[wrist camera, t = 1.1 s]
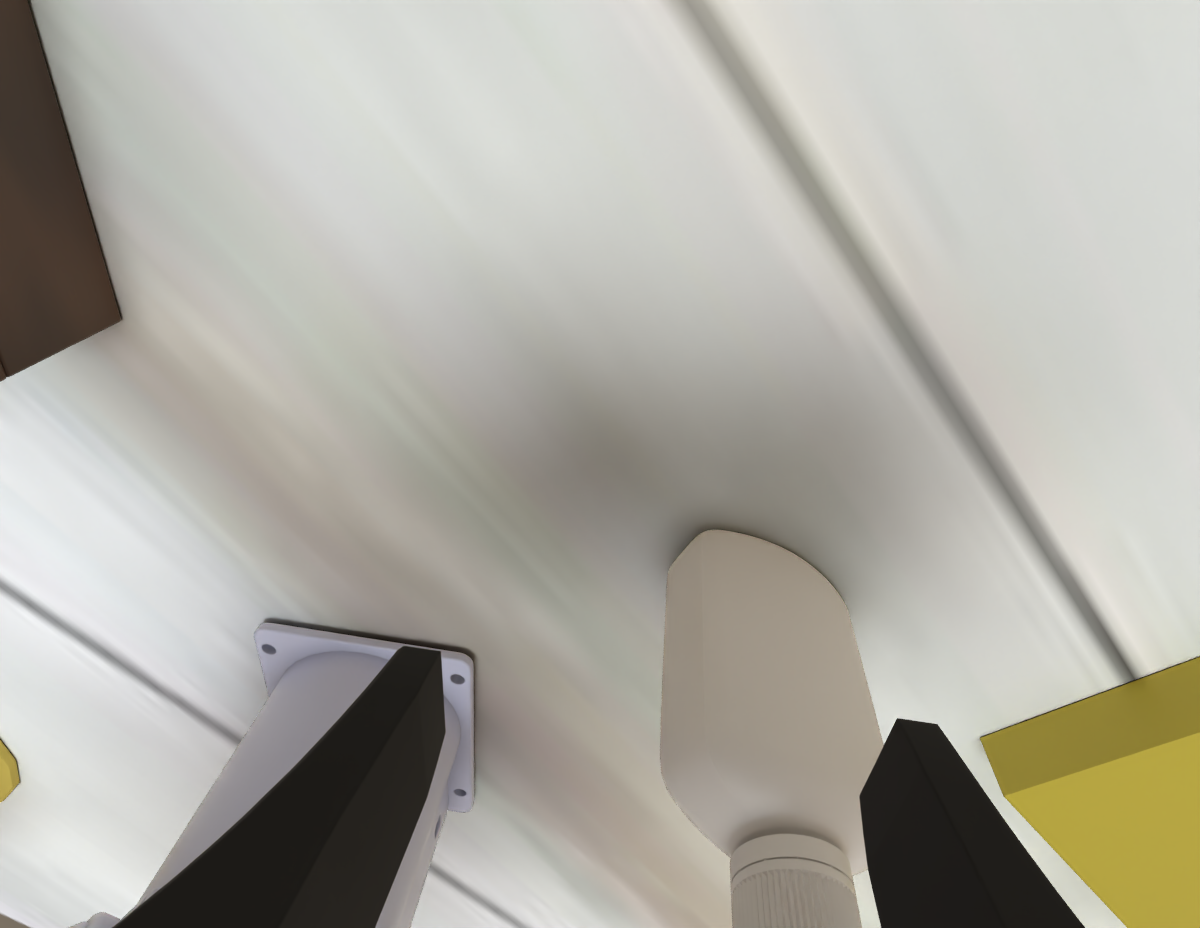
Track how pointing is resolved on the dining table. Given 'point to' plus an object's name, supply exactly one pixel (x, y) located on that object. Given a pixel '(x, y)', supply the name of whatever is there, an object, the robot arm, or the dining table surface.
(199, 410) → the dining table surface
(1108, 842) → the flat olive board
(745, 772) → the eye dropper bottle
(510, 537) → the dining table surface
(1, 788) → the candle
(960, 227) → the dining table surface
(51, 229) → the shelf
